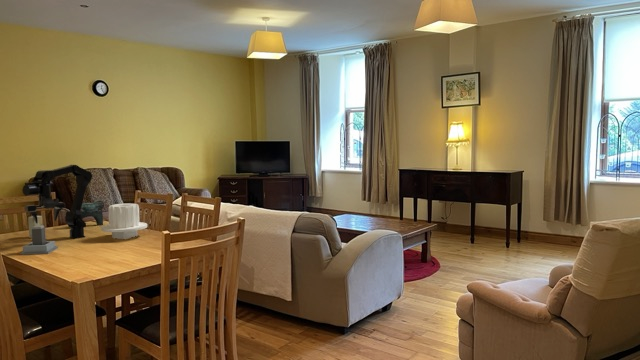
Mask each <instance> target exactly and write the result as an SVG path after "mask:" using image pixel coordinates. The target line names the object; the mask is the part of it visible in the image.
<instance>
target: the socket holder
mask: <svg viewBox="0 0 640 360" xmlns="http://www.w3.org/2000/svg"><path fill="white" fill-rule="evenodd" d="M57 249H59V246H58V245H56V240H46V245H33V243H32V241H31V242H29V243H27V244H25V245H22V251H21V252H20V253H19V255H20V256H22V255H23V256H26V255H27V256H28V255H29V256H30V255H48V254H49V255H50V253H53V252H54V251H56V250H57Z"/></svg>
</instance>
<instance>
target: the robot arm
mask: <svg viewBox="0 0 640 360" xmlns="http://www.w3.org/2000/svg"><path fill="white" fill-rule="evenodd" d="M67 174H72V175H73V176H75V183H76V189H75V193H74V197H73V201H72V206H71V209H70V210H69V211H65V216H64V219H65V223H66V224H67V227H68V228H69V238H70V239H74V240H75V239H80V238H86V236H85V232H84V231H85V230H84V228H85V227H86V225H87V222H86V221H84V220H83V219H82V213H81V207H82V204H84V199H85V196H86V195H85V194H86V190H87V187H88V185H89V184H90V183H91V181H92V179H93V174H92V171H89V170H87V169H84V168H83V167H81V166H79V165H78V164H69V165H66V166H62V167H58V168H55V169H49V170H48V169H46V170H45V169H44V170H38V171H36V172H35V175H34V178H33V179H31V181H30V182H25V183H24V185H23V187H22V190H21V191H22V193H23V196H26V197H27V196H37V198H38V203H37V204H38V205H36V204H27V205H26V204H25V206H24V207H23V208H24V211H26V212H28V213H29V214H30V215H31V217H32V216H33V218H34V220H35V222H36V223H38V220H37V216H38V211H36V210H39V209H40V210H41V209H42V210H43V209H48V210H49V209H53V220H54V222H57V219H58V216H59V214H60V212H61V210H63V209H64V208H66V203H65V202H62V201H60V200H59V198H54V199H53V196H52V195H51V186H53V185H55V183H53V182H52V180H54V179H55V178H57V177H59V176H60V177H61V176H64V175H67Z"/></svg>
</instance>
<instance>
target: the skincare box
mask: <svg viewBox="0 0 640 360" xmlns="http://www.w3.org/2000/svg"><path fill="white" fill-rule="evenodd" d="M27 218H28V220H27V221H28V222H27V223H28V238H29V239H32V227H34V226H40V225H43V215H37V220H38V223H36V222H35V220H34V218H33V216H32V215H31V216H28V217H27Z"/></svg>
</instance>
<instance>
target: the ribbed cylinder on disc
mask: <svg viewBox="0 0 640 360" xmlns="http://www.w3.org/2000/svg"><path fill="white" fill-rule="evenodd" d="M107 209H108V224H105V225H104V224H103V225H101V226H100V231H102V232H107V233H111V238H112V239H115V238H117V239H116V240H123V239H125V240H128V239H127V238H129V239H132V238H131V237H133V238H136V237H135V236H137V237H138V231H140V230H144V229H147V228H148V223H146V222H143V221H142V222H141V221H140V205H139V204H138V203H131V202H130V203H129V202H128V203H117V204H115V203H114V204H110V205H109V206H108V208H107Z"/></svg>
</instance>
